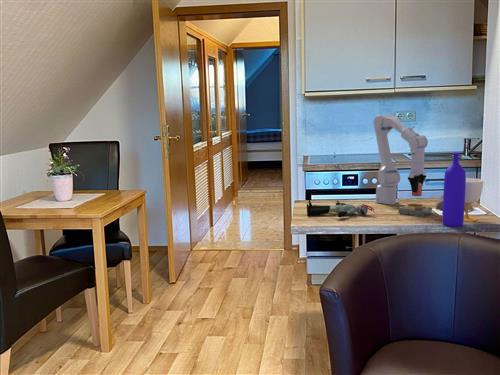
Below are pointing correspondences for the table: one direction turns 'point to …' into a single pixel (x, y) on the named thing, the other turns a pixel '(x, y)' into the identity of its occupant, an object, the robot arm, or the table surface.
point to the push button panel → (415, 210)
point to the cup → (472, 194)
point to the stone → (440, 204)
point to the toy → (337, 209)
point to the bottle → (454, 194)
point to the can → (419, 192)
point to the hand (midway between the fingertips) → (416, 191)
